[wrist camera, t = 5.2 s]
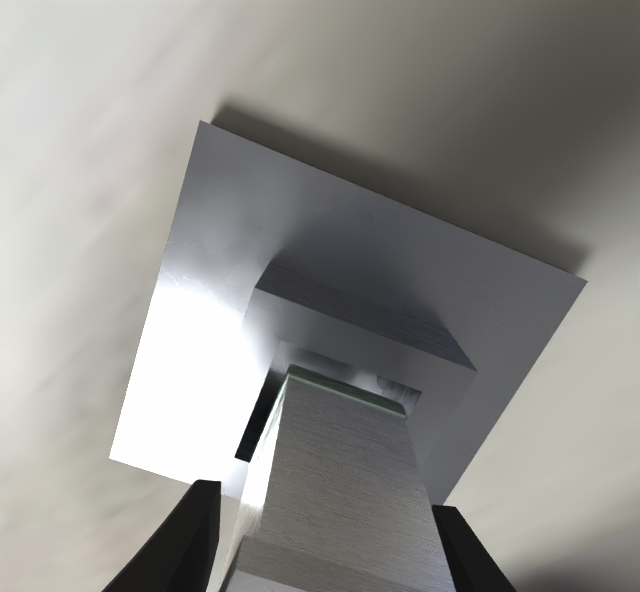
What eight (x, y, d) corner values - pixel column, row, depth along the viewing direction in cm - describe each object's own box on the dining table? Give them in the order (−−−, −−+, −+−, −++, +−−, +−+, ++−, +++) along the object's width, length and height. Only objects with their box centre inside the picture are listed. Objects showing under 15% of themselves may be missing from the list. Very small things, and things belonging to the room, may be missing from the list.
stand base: (570, 273, 17) (653, 310, 12) (406, 533, 21) (425, 625, 17) (209, 123, 15) (162, 107, 11) (121, 441, 20) (65, 516, 16)
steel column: (411, 398, 13) (499, 648, 6) (358, 495, 15) (383, 786, 8) (285, 352, 13) (235, 569, 6) (242, 456, 14) (162, 730, 7)
